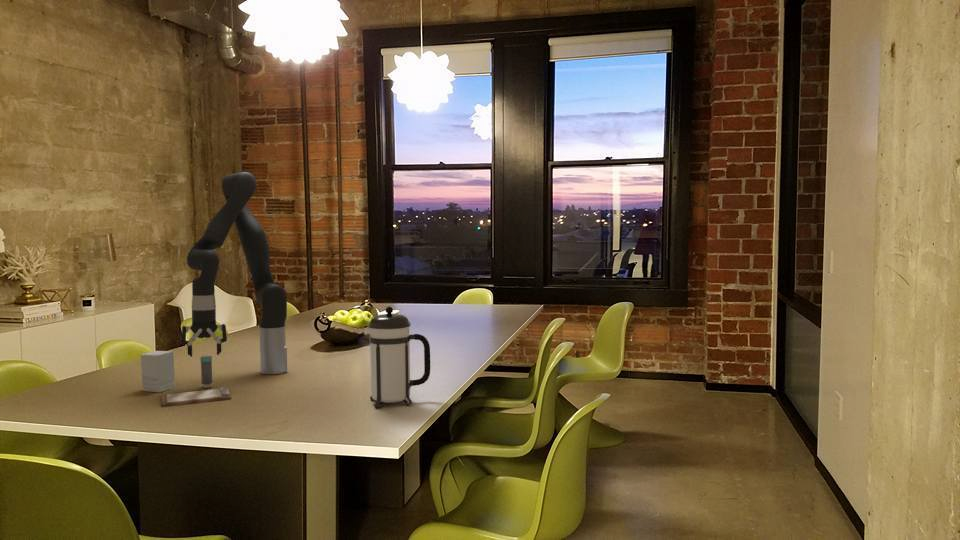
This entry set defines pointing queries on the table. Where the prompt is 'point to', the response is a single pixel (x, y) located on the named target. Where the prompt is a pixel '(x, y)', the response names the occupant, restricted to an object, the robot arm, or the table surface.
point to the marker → (206, 371)
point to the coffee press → (393, 358)
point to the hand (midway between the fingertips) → (204, 355)
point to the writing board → (196, 397)
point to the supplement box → (157, 371)
